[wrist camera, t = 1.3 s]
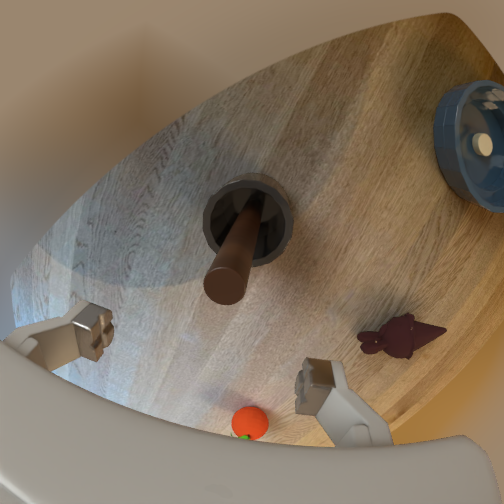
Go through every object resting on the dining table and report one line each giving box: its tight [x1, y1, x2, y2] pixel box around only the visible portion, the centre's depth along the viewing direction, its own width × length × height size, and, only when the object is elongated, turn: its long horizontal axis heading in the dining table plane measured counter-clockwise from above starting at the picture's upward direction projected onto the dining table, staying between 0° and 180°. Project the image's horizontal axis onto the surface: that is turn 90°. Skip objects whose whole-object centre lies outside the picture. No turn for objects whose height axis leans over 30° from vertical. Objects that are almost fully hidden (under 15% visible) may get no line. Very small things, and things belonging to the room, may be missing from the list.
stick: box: [203, 200, 263, 305], centre depth 25 cm, size 2×2×20 cm
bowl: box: [433, 80, 504, 213], centre depth 25 cm, size 18×18×6 cm
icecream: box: [357, 313, 447, 360], centre depth 36 cm, size 7×7×15 cm
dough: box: [472, 133, 493, 156], centre depth 26 cm, size 3×3×2 cm
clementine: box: [231, 407, 269, 440], centre depth 45 cm, size 8×7×7 cm
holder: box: [203, 173, 294, 267], centre depth 31 cm, size 9×9×8 cm
